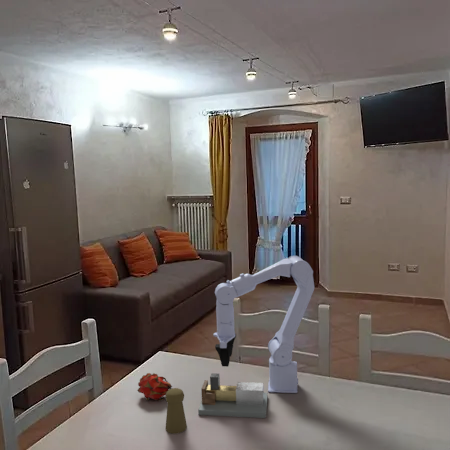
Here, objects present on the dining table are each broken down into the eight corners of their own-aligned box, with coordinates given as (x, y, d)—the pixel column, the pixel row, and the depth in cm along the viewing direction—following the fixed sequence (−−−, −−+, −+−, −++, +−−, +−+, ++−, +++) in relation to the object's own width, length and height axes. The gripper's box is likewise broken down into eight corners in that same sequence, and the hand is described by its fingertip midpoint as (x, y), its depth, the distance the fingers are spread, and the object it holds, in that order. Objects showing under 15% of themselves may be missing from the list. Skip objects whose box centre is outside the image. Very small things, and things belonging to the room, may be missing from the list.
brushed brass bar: (245, 396, 134) (245, 373, 133) (244, 401, 130) (244, 378, 130) (207, 394, 135) (206, 372, 134) (205, 399, 132) (205, 377, 131)
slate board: (267, 397, 137) (267, 392, 137) (265, 418, 125) (265, 413, 125) (205, 394, 140) (205, 390, 140) (198, 414, 128) (198, 409, 128)
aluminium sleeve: (263, 398, 134) (263, 382, 133) (262, 406, 129) (262, 390, 128) (238, 397, 135) (237, 381, 134) (236, 405, 130) (235, 389, 129)
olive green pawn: (183, 434, 118) (181, 396, 117) (162, 432, 120) (160, 395, 119) (189, 422, 124) (187, 386, 123) (169, 420, 126) (167, 384, 124)
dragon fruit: (137, 398, 142) (171, 408, 139) (128, 394, 135) (163, 404, 132) (146, 372, 146) (179, 381, 143) (138, 367, 139) (172, 376, 135)
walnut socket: (217, 395, 136) (217, 380, 136) (214, 405, 131) (214, 389, 130) (205, 395, 137) (204, 380, 136) (202, 404, 131) (201, 388, 131)
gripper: (216, 313, 147) (217, 351, 149) (209, 328, 133) (211, 370, 134) (237, 313, 146) (238, 352, 148) (232, 328, 132) (233, 370, 133)
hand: (226, 360), depth 141 cm, fingers open, 7 cm apart
